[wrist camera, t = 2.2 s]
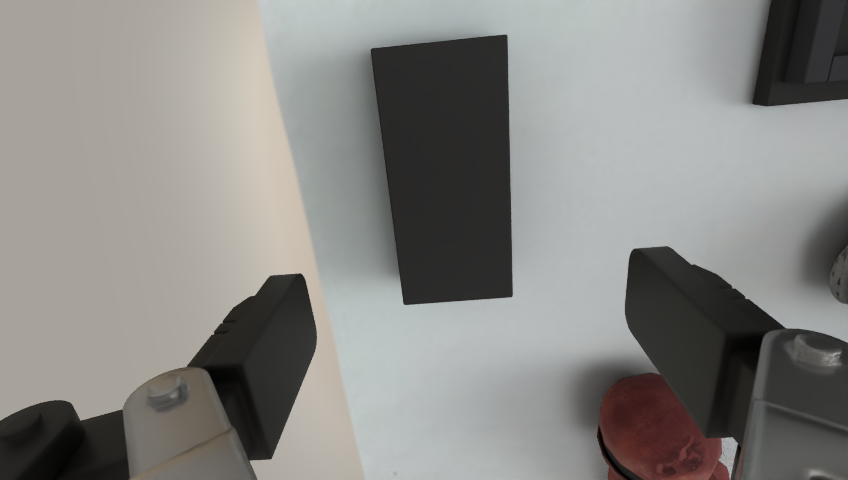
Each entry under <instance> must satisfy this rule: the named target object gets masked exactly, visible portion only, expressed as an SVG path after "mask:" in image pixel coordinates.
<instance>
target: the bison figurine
mask: <svg viewBox="0 0 848 480" xmlns="http://www.w3.org/2000/svg"><path fill="white" fill-rule="evenodd" d="M829 286H830V290H831V292H832V294H833V295H834V297H835V298H836V299H837V300H838V301H839V302H841V303H845V304H848V245H847V246H846V247H845V249H844V250H843V251H842V252H841V253H840V254H839V256H838V257H837V259H836V261H835V262H834V265H833V267H832V270H831V274H830V280H829Z"/></svg>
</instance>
